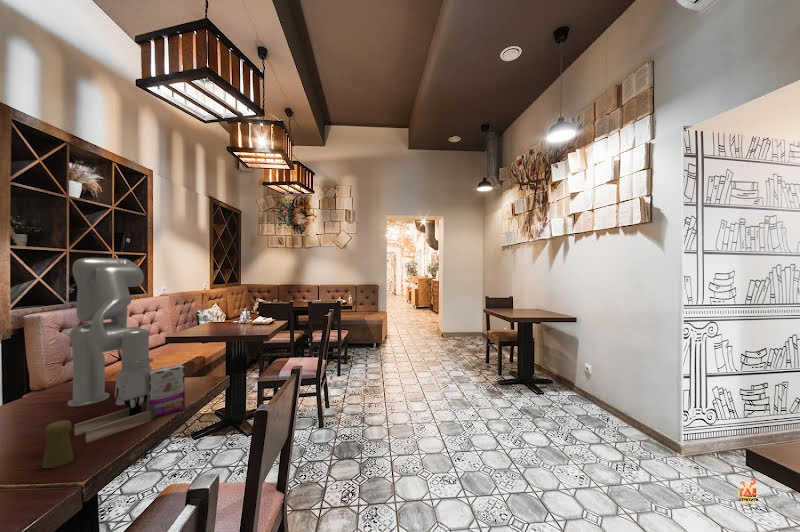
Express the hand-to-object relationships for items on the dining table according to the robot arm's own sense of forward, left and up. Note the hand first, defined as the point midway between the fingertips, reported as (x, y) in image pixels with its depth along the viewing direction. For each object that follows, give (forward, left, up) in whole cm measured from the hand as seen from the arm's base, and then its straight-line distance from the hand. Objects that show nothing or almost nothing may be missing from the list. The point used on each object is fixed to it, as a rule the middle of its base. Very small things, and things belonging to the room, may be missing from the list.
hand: (135, 417), depth 115 cm
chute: (0, -5, -1) cm, 6 cm away
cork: (+12, -22, -2) cm, 25 cm away
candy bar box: (+2, +9, -1) cm, 9 cm away
